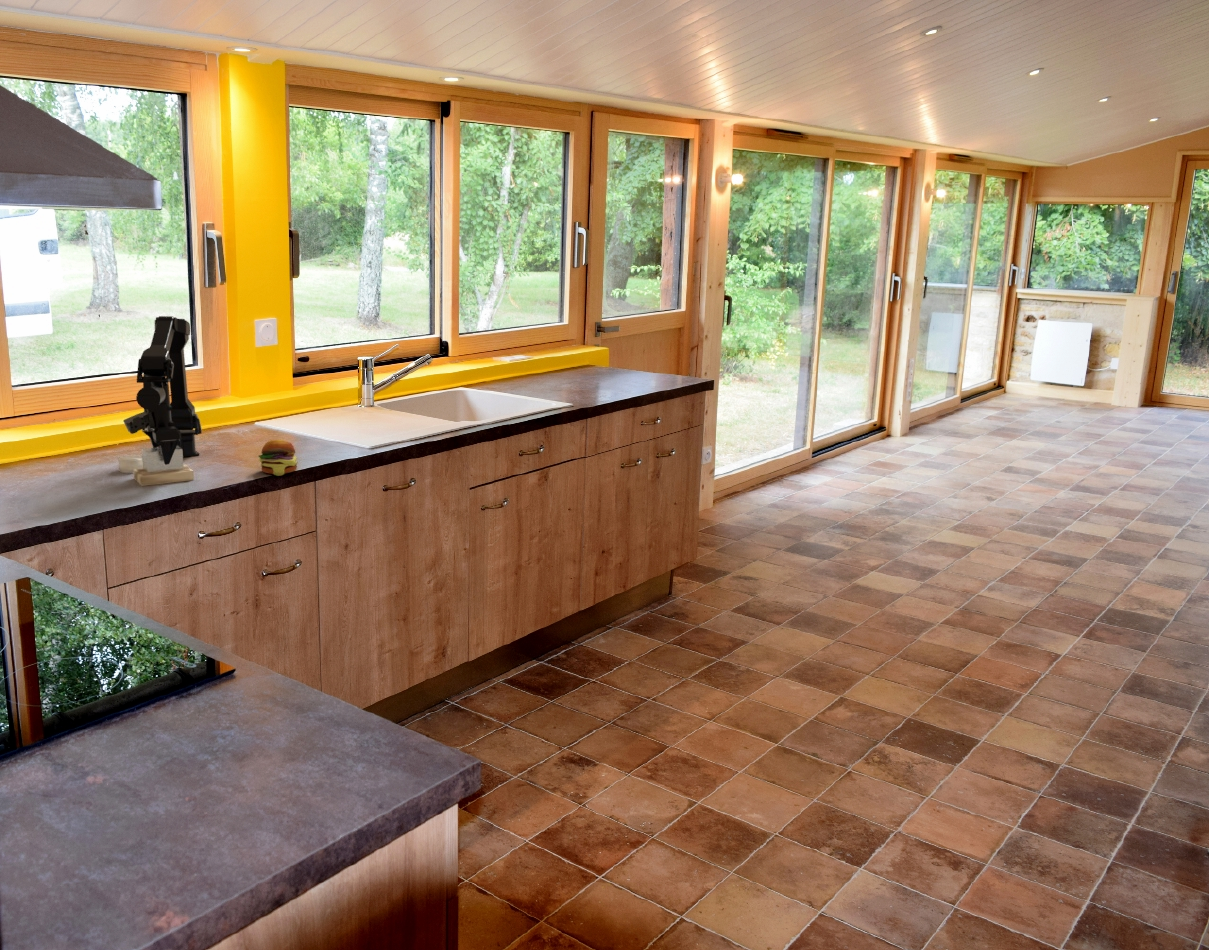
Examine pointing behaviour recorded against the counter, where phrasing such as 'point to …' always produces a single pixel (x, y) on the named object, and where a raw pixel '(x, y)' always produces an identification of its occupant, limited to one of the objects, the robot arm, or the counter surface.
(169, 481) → the stand
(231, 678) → the counter surface
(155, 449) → the block
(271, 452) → the cheeseburger
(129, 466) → the cream rounded block
